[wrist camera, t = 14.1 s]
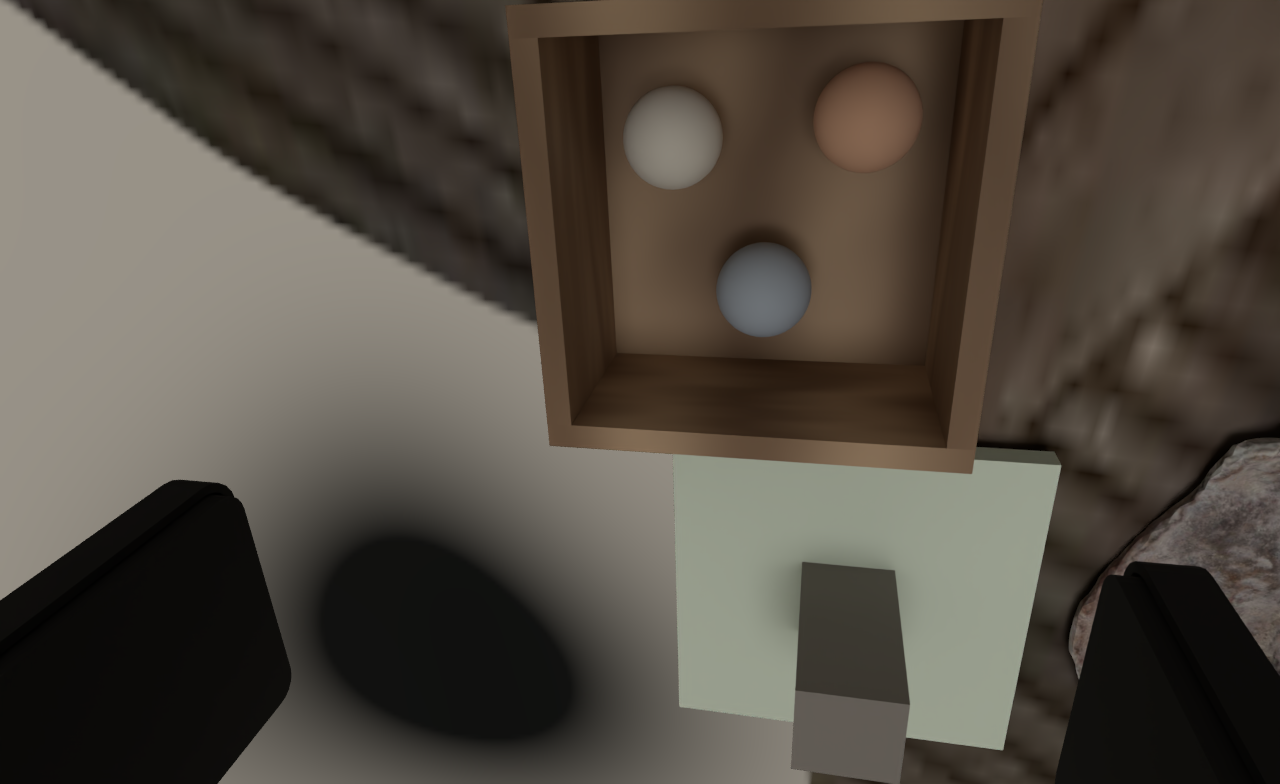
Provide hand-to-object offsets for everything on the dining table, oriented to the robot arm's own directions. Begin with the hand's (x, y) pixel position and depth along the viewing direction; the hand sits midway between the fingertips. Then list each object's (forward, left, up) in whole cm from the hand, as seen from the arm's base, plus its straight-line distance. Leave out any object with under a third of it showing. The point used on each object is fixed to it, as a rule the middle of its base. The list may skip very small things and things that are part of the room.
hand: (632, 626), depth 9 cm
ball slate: (0, +3, -20) cm, 20 cm away
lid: (-3, +16, -22) cm, 27 cm away
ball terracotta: (-3, -3, -20) cm, 20 cm away
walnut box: (0, 0, -22) cm, 22 cm away
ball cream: (+3, -2, -20) cm, 20 cm away
